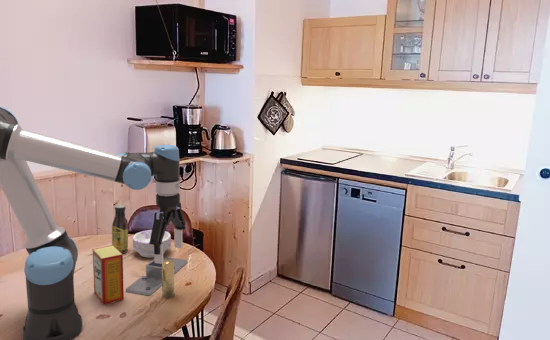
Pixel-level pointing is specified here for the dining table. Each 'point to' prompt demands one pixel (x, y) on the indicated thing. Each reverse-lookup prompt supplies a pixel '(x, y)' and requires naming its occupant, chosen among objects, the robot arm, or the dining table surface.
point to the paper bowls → (143, 243)
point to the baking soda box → (108, 274)
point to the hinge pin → (168, 278)
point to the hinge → (153, 277)
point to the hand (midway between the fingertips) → (169, 255)
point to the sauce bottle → (120, 230)
